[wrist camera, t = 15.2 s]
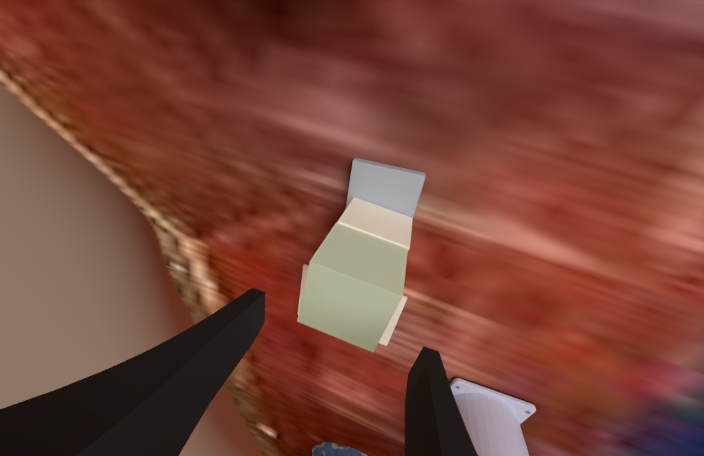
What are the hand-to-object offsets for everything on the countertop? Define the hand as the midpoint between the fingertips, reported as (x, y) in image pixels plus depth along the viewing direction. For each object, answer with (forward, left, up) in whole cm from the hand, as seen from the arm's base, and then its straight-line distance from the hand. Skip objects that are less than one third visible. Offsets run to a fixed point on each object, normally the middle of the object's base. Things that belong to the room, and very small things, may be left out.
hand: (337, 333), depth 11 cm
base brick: (0, 0, -11) cm, 11 cm away
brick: (0, 0, -10) cm, 10 cm away
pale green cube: (0, 0, -6) cm, 6 cm away
